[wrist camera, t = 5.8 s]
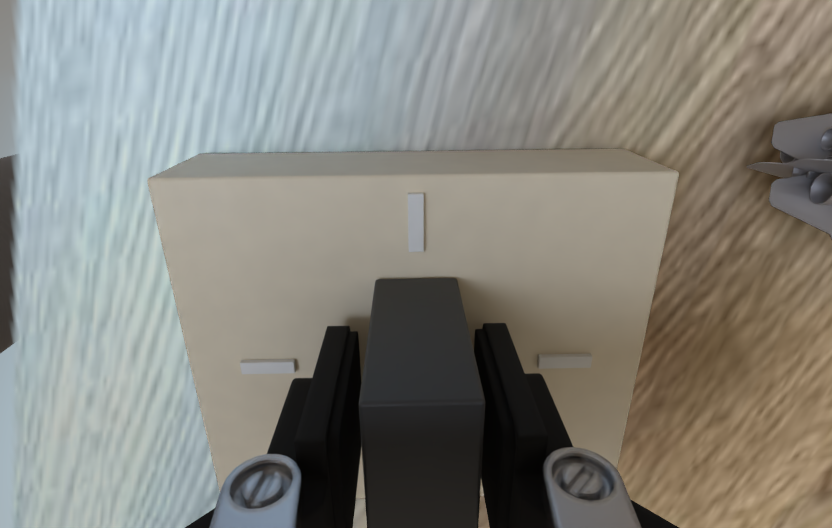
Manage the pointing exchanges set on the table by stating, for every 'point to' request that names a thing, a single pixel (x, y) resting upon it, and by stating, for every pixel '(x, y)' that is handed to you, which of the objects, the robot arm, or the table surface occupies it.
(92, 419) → the table surface
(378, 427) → the hob knob
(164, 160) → the table surface
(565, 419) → the panel
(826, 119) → the spaceship
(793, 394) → the table surface
